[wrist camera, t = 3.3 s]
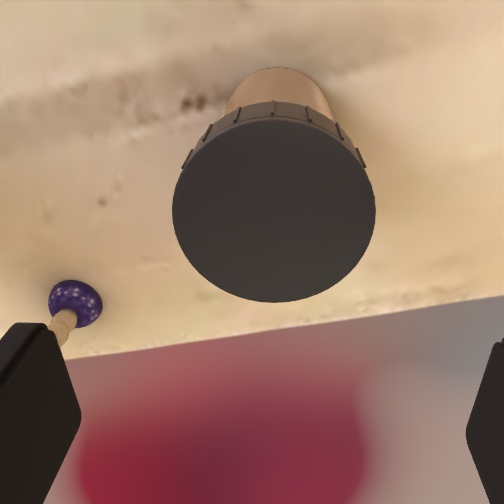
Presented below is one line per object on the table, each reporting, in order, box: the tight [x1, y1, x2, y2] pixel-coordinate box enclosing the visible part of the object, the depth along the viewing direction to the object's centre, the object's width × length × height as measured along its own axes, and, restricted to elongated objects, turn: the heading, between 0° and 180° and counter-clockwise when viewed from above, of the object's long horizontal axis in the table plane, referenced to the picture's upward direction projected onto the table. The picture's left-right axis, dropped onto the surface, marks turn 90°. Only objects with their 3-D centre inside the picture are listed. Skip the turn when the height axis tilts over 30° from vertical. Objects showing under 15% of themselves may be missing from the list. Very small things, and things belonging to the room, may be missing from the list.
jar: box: [220, 68, 335, 123], centre depth 22 cm, size 7×7×13 cm
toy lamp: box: [47, 281, 102, 347], centre depth 29 cm, size 5×5×17 cm
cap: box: [172, 100, 376, 303], centre depth 18 cm, size 8×8×3 cm
